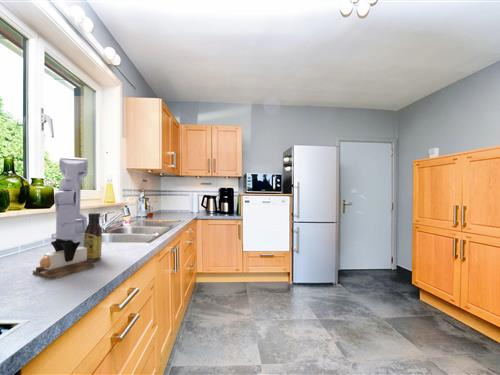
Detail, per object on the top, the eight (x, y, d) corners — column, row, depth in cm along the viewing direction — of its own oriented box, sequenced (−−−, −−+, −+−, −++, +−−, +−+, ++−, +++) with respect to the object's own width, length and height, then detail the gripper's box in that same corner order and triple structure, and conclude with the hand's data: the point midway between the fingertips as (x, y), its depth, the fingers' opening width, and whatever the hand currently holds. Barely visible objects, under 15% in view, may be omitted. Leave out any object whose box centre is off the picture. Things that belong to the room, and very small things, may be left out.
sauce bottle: (79, 261, 97) (80, 213, 97) (94, 257, 103) (95, 212, 103) (90, 263, 94) (91, 214, 95) (105, 259, 100) (105, 212, 100)
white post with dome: (80, 259, 93) (80, 246, 93) (86, 260, 92) (86, 247, 92) (36, 270, 81) (37, 255, 81) (43, 271, 79) (43, 256, 79)
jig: (75, 262, 96) (75, 256, 96) (94, 266, 91) (95, 260, 91) (32, 273, 83) (32, 266, 83) (52, 279, 78) (52, 271, 78)
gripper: (42, 223, 86) (41, 260, 86) (65, 226, 80) (65, 266, 80) (63, 221, 93) (63, 255, 93) (87, 223, 87) (86, 260, 87)
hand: (65, 260), depth 87 cm, fingers closed on white post with dome, 4 cm apart
